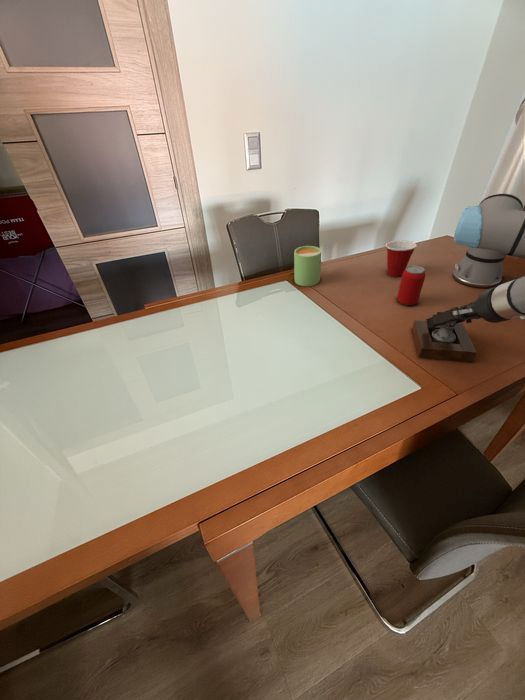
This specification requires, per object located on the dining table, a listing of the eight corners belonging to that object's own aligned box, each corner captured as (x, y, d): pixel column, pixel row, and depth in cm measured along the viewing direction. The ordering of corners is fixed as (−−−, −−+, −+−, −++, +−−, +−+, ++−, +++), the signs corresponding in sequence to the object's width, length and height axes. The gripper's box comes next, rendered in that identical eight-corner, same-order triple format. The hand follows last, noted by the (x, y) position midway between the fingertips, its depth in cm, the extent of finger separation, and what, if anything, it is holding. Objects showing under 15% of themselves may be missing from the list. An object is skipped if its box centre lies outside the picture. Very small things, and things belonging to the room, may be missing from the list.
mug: (323, 284, 118) (325, 254, 110) (296, 287, 117) (296, 257, 110) (316, 270, 127) (317, 242, 120) (291, 273, 127) (291, 245, 119)
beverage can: (417, 297, 106) (426, 265, 98) (417, 307, 101) (427, 274, 93) (396, 295, 108) (403, 263, 100) (396, 305, 103) (404, 272, 95)
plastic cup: (397, 265, 125) (404, 236, 117) (415, 276, 117) (423, 245, 109) (374, 270, 123) (379, 241, 115) (391, 282, 115) (398, 251, 107)
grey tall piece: (454, 352, 83) (470, 316, 75) (431, 351, 84) (445, 315, 76) (448, 339, 88) (462, 303, 80) (426, 338, 89) (438, 303, 81)
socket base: (459, 332, 89) (463, 323, 87) (471, 362, 80) (476, 352, 78) (411, 329, 92) (414, 320, 90) (418, 357, 83) (421, 347, 80)
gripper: (468, 325, 62) (409, 339, 85) (551, 314, 62) (470, 331, 86) (461, 289, 62) (404, 313, 86) (543, 279, 63) (464, 305, 86)
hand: (437, 322), depth 86 cm, fingers open, 5 cm apart
